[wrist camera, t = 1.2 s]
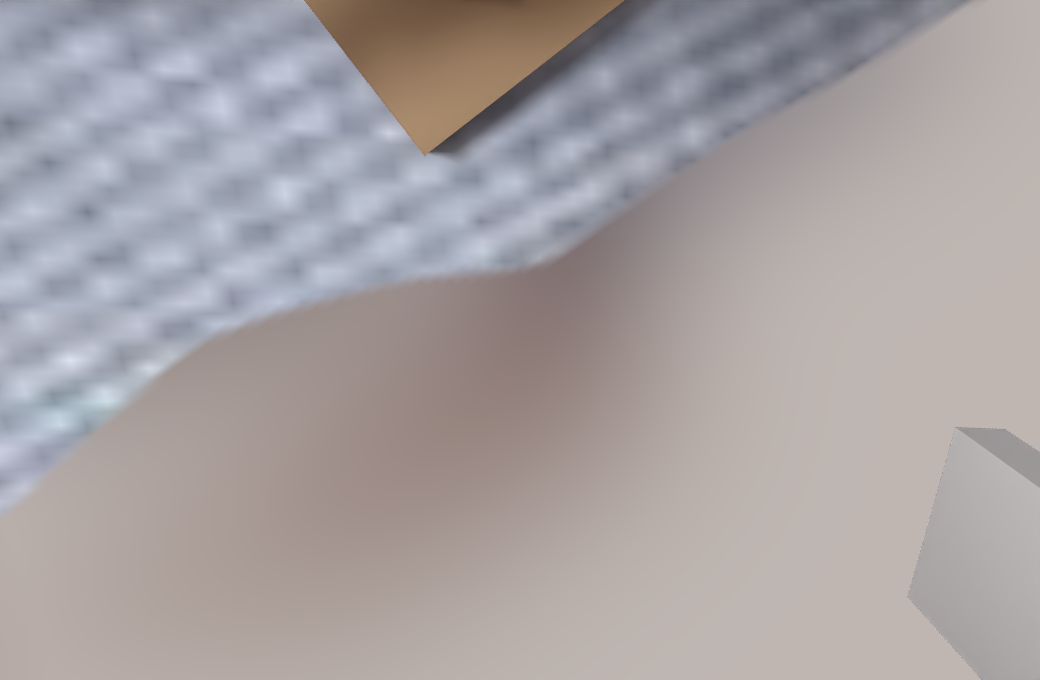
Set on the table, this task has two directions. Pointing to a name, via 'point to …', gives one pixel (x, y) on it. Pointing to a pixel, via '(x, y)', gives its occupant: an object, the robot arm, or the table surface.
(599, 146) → the table surface
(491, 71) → the ring holder
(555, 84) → the table surface
